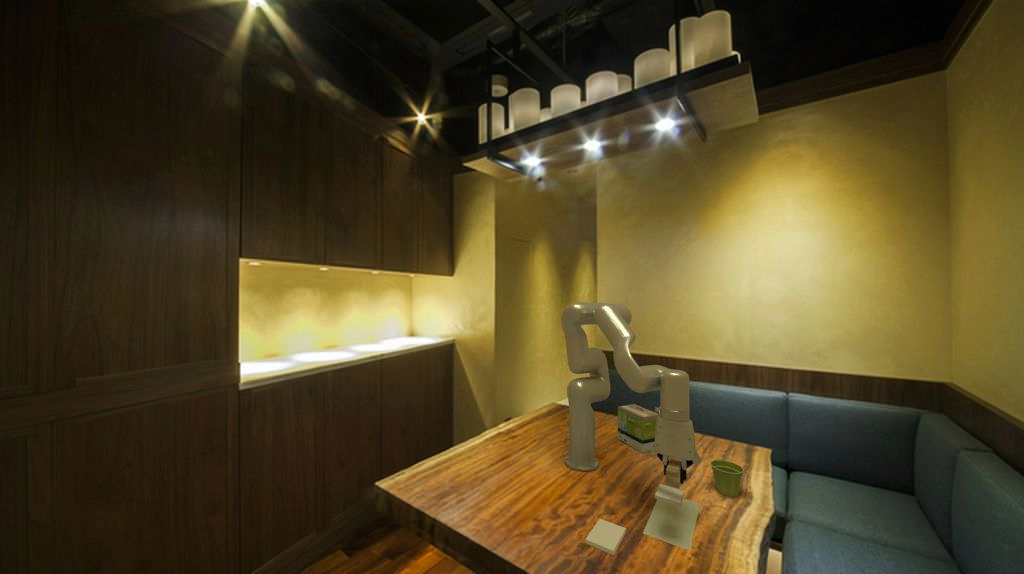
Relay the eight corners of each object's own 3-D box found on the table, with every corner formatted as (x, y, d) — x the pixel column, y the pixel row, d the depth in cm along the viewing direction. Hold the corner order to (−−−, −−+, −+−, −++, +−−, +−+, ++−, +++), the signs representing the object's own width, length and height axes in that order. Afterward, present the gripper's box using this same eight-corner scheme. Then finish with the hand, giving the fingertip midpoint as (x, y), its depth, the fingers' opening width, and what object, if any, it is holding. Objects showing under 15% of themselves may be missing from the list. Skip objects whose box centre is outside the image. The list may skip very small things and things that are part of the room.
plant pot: (703, 486, 116) (703, 459, 116) (730, 485, 117) (730, 459, 117) (722, 502, 107) (722, 473, 107) (751, 501, 107) (751, 472, 108)
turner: (668, 467, 108) (668, 450, 108) (690, 472, 104) (690, 455, 104) (654, 498, 90) (654, 478, 90) (680, 506, 87) (680, 485, 87)
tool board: (660, 494, 110) (660, 491, 111) (699, 506, 104) (699, 503, 104) (642, 536, 90) (642, 533, 90) (690, 554, 84) (690, 550, 84)
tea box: (616, 439, 154) (616, 405, 154) (633, 436, 158) (634, 403, 159) (642, 453, 140) (642, 416, 141) (660, 449, 144) (660, 413, 145)
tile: (599, 518, 95) (585, 539, 86) (625, 528, 91) (613, 550, 82) (599, 527, 95) (585, 548, 86) (625, 537, 91) (613, 560, 82)
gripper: (641, 412, 101) (642, 477, 100) (706, 423, 92) (707, 495, 91) (647, 406, 107) (647, 467, 106) (708, 416, 98) (709, 483, 98)
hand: (675, 479), depth 99 cm, fingers closed on turner, 3 cm apart
